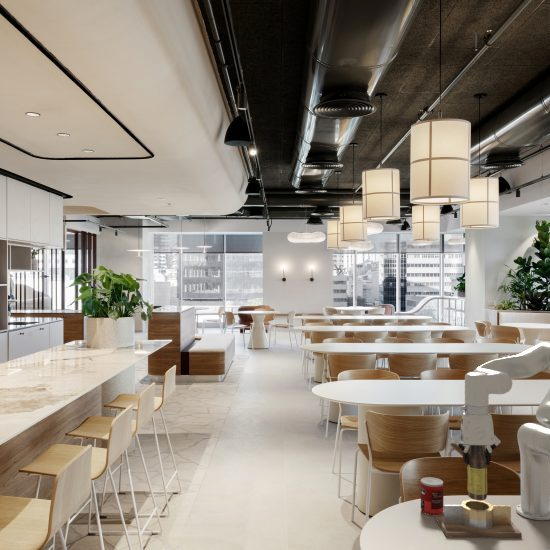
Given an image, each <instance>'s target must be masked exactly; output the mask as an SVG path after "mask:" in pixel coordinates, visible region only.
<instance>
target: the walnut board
mask: <svg viewBox="0 0 550 550" xmlns="http://www.w3.org/2000/svg"><path fill="white" fill-rule="evenodd" d="M436 518H437V519H436ZM435 519H436V521H437V520H438V521H437V523H438V522H439V523H438V525H439V524H440V525H439V526H440V528H441V530H442V529H443V530H442V532H443V531H444V532H443V533H445V534H444V535H445V537H446V538H480V537H498V538H499V539H500V538H501V539H502V538H503V539H504V538H506V539H521V538H523V535H522V532H521V531H520V529H519V528H518V527H517V526H516V525H515V524H514V522H512V520H511V524H494V525H493V527H492V528H491V529H488V530H476V529H471V528H468V527H466V526H464V525H463V524H444V513H442V514H436V516H435Z"/></svg>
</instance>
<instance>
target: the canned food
mask: <svg viewBox="0 0 550 550" xmlns="http://www.w3.org/2000/svg"><path fill="white" fill-rule="evenodd" d="M420 510H421V512H422V513H424V514H425V513H426V514H425V515H427V514H429V515H428V516H432V515H436V514H444V481H443V480H442V479H440V478H436V477H431V476H428V477H427V476H426V477H423V478H421V479H420Z"/></svg>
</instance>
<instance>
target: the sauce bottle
mask: <svg viewBox="0 0 550 550" xmlns="http://www.w3.org/2000/svg"><path fill="white" fill-rule="evenodd" d="M483 452H484V450H483V446H475V445H470V452H469V465H467V464H466V465H467V466H466V472H467V474H466V475H467V476H466V477H467V480H466V481H467V487H466V488H467V489H466V490H467V496H468V498H470V500H479V501H485V500H486V499H487V497H488V495H487V494H488V465H487V464H486V458H485V456H484V453H483Z"/></svg>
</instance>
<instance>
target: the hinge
mask: <svg viewBox="0 0 550 550" xmlns="http://www.w3.org/2000/svg"><path fill="white" fill-rule="evenodd" d="M443 514H444V524H463V525H464V526H466V527H468V528H471V529H476V530H488V529H491V528H492V527H493V525H494V524H511V521H512V506H511V505H508V504H507V505H506V504H505V505H504V504H503V505H502V504H501V505H500V504H494V505H493V504H491V503H489V502H487V501H485V500H481V501H479V500H474V499H467V500H462V502H461V504H443Z"/></svg>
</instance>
